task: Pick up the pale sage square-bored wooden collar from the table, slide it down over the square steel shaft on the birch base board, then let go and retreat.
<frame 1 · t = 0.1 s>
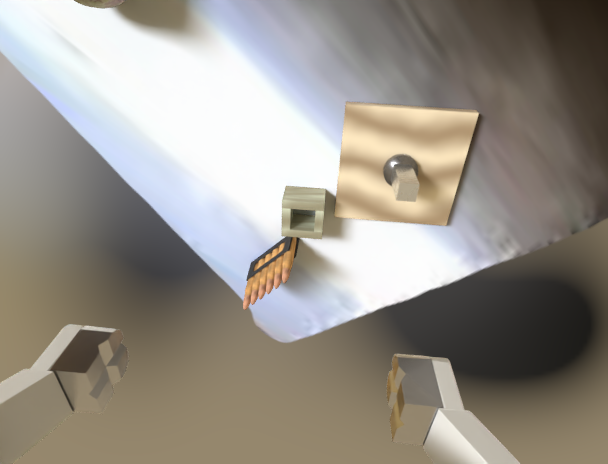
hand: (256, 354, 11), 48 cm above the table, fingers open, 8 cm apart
ammunition clip: (274, 250, 69), on the table
collar: (304, 204, 63), on the table
shaft board: (398, 165, 58), on the table
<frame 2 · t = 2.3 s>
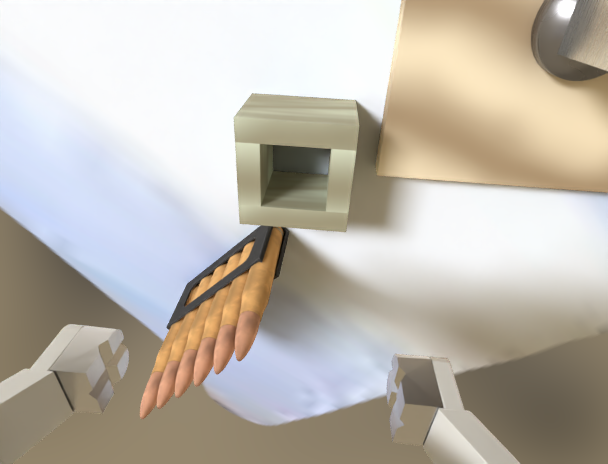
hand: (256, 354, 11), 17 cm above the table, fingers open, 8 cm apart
ammunition clip: (235, 258, 31), on the table
collar: (301, 146, 25), on the table
shaft board: (569, 21, 20), on the table
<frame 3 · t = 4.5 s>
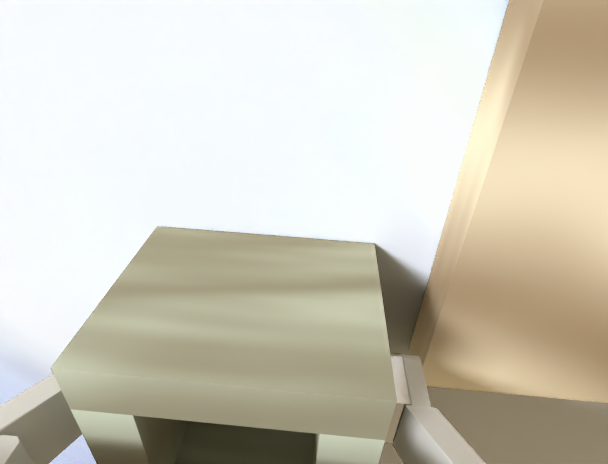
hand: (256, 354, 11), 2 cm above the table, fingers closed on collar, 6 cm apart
collar: (265, 314, 13), on the table, touching gripper
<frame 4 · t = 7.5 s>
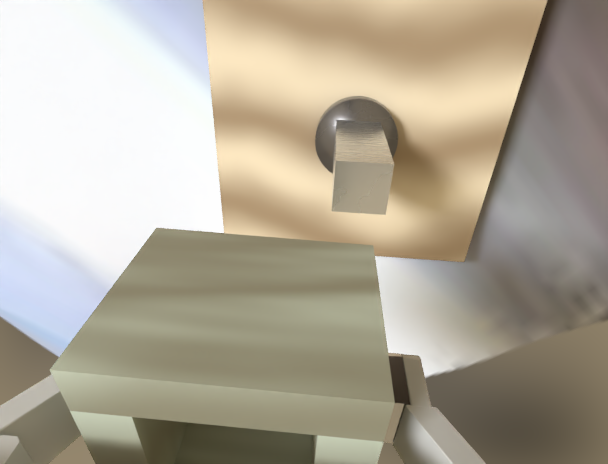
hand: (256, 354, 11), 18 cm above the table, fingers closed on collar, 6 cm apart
collar: (264, 315, 13), point 16 cm above the table, touching gripper
shaft board: (354, 129, 25), on the table
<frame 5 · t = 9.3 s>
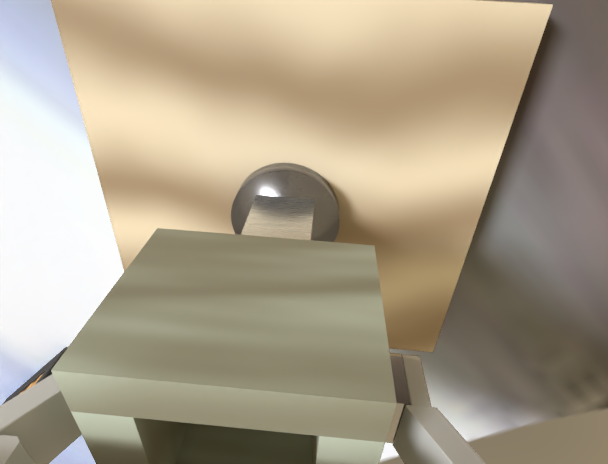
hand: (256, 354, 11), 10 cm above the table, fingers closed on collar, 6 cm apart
ammunition clip: (47, 377, 30), on the table
collar: (265, 315, 13), point 8 cm above the table, touching gripper
shaft board: (290, 196, 20), on the table
when the fingers open (5 cm above the table, at t = 10.9 s): collar stays where it is, resting on shaft board.
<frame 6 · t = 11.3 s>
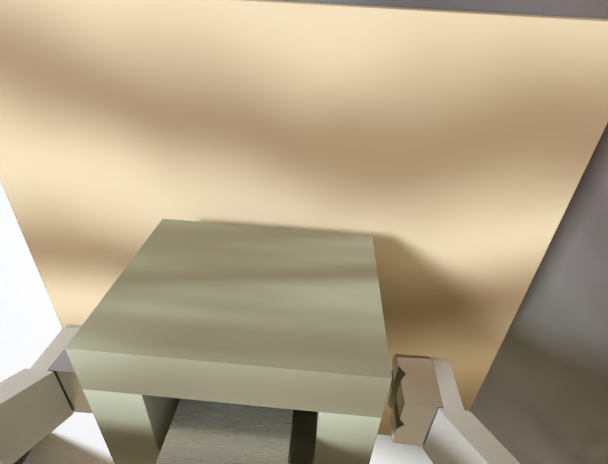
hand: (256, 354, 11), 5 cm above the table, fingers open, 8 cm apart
collar: (266, 304, 13), point 2 cm above the table, touching shaft board
shaft board: (277, 261, 15), on the table
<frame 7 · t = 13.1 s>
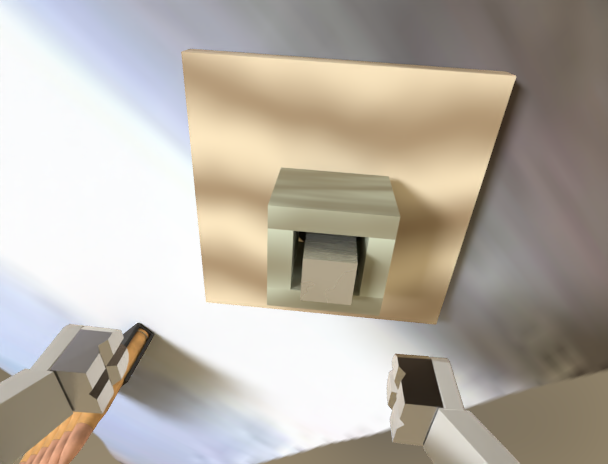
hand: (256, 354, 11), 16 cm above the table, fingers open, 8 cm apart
ammunition clip: (115, 351, 37), on the table
collar: (329, 218, 24), point 2 cm above the table, touching shaft board
shaft board: (330, 201, 26), on the table
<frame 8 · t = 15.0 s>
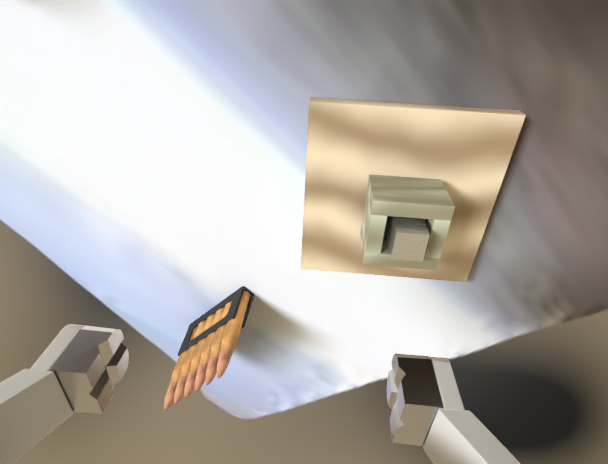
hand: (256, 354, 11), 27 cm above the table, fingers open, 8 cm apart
ammunition clip: (221, 309, 49), on the table
collar: (398, 207, 36), point 2 cm above the table, touching shaft board
shaft board: (395, 195, 38), on the table
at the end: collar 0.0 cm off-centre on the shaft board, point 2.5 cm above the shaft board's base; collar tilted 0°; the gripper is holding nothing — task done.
